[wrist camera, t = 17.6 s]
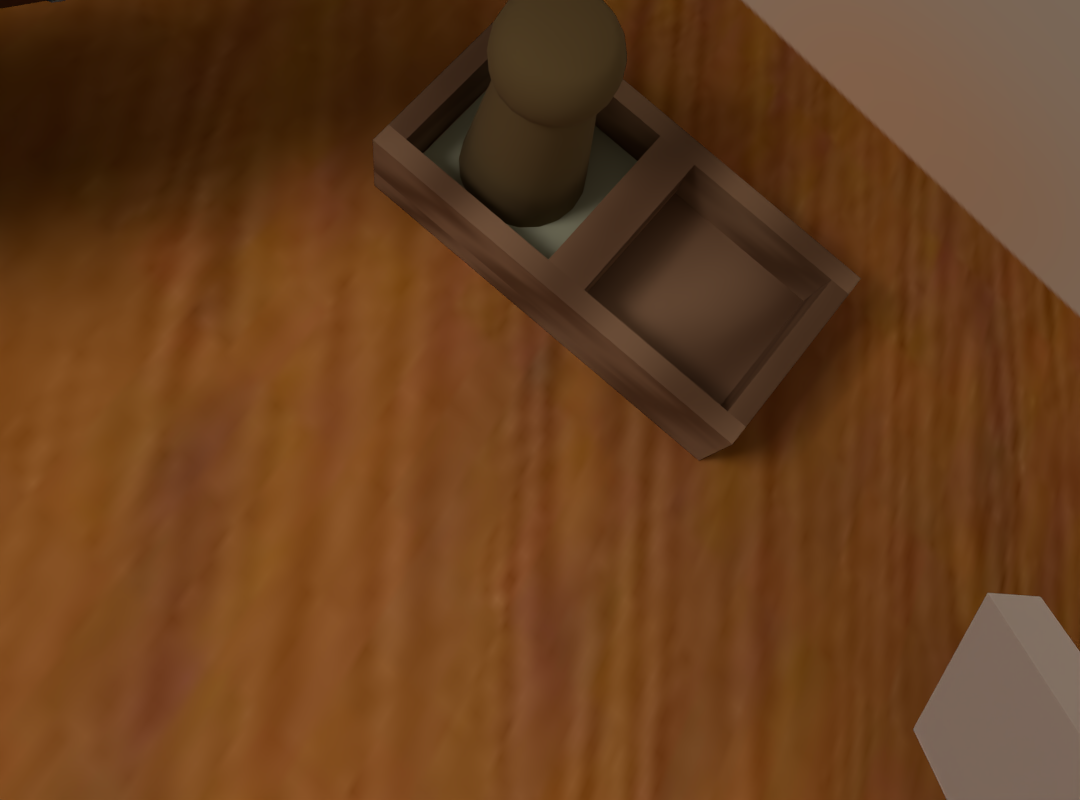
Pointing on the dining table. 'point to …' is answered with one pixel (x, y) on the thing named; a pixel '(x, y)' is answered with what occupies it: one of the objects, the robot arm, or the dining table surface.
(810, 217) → the dining table surface
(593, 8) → the cork
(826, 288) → the stand
